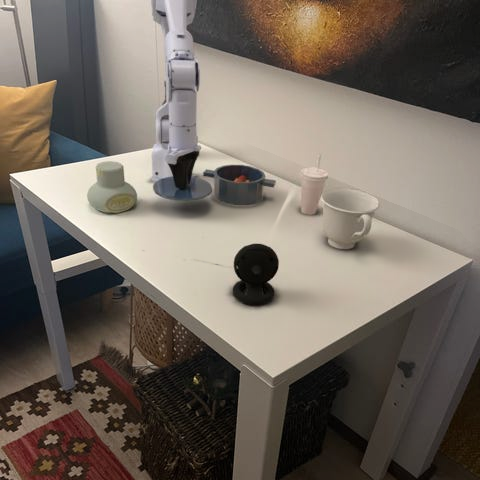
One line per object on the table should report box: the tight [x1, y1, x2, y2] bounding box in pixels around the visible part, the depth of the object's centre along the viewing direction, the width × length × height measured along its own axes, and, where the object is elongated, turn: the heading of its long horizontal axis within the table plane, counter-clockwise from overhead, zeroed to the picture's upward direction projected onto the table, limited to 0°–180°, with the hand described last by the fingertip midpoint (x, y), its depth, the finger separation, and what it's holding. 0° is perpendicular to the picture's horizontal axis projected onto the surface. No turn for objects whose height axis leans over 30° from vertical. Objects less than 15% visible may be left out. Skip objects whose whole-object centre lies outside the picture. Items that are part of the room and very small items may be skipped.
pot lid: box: [152, 175, 213, 202], centre depth 112 cm, size 13×13×4 cm
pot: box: [202, 164, 277, 206], centre depth 123 cm, size 12×18×6 cm
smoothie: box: [299, 152, 329, 215], centre depth 116 cm, size 6×6×14 cm
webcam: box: [232, 243, 280, 306], centre depth 86 cm, size 8×8×10 cm
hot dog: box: [234, 175, 249, 182], centre depth 123 cm, size 8×3×4 cm, turn 165°
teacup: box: [320, 188, 381, 250], centre depth 104 cm, size 12×15×10 cm
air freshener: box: [86, 160, 138, 214], centre depth 111 cm, size 11×8×10 cm
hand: (182, 185), depth 113 cm, fingers closed on pot lid, 2 cm apart
